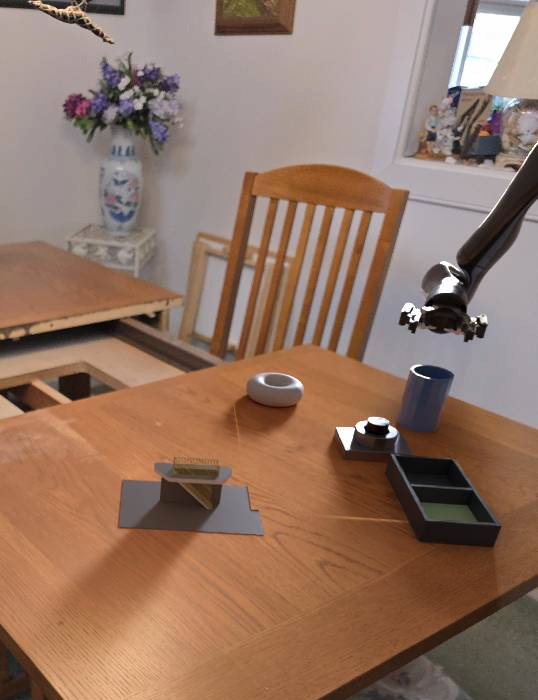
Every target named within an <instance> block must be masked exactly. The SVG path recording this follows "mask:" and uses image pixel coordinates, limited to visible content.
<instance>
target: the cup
mask: <svg viewBox="0 0 538 700" xmlns="http://www.w3.org/2000/svg"><path fill="white" fill-rule="evenodd" d="M454 378H455V374H454V373H453V372H452V371H451V370H449V369H447V368H444V367H441V366H437V365H432V364H415V365H413V366H411V367H410V369H409V372H408V376H407V379H406V383H405V387H404V390H403V393H402V397H401V402H400V405H399V409H398V412H397V416H396V420H395V422H396V423H397V425H398V426H399V427H400V426H401V427H402V428H404V429H405V430H408V431H412V432H415V433H416V432H417V433H425V434H426V433H434V432H435V431H437V430H438V429H439V426H440V423H441V420H442V416H443V413H444V411H445V408H446V405H447V401H448V398H449V394H450V391H451V387H452V385H453V381H454Z"/></svg>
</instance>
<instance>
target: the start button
mask: <svg viewBox="0 0 538 700" xmlns="http://www.w3.org/2000/svg"><path fill="white" fill-rule="evenodd" d="M366 421H367V424H366V428H365V431H367V432H368V433H371V434H375V435H386V434H387V431H388V428H389V425H390V423H391V422H390V421H389V420H388V419H387V418H384V417H380V416H369V417H368V418H367V420H366Z"/></svg>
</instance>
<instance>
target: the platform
mask: <svg viewBox="0 0 538 700" xmlns="http://www.w3.org/2000/svg"><path fill="white" fill-rule="evenodd" d="M153 472H154V474H157V475H158V476H159V477H161V478H160V480H159V481H157V480H143V479H142V480H140V479H122V486H121V497H120V498H121V499H120V510H119V522H118V527H119V528H128V529H129V528H131V529H148V530H149V529H150V530H165V531H166V530H168V531H187V532H188V531H189V532H205V533H223V534H224V533H225V534H242V535H261V536H265V532H264V527H263V523H262V519H261V514H260V510H259V509H252V507H251V500H250V494H249V493H250V492H249V486H247V485H234V484H233V485H231V484H226V483H227V482H228V481H229V479H231V477H232V476H233V468H232V467H231V466H227V465H221V462H220V459H219V458H204V457H188V456H174V457H173V462H155V463H154V464H153Z"/></svg>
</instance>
